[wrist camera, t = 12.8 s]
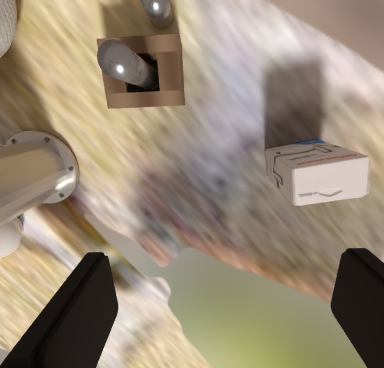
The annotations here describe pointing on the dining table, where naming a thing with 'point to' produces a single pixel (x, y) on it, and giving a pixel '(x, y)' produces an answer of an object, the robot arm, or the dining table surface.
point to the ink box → (318, 172)
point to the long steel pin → (126, 65)
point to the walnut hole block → (167, 69)
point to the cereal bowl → (7, 24)
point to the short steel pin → (159, 12)
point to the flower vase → (10, 236)
